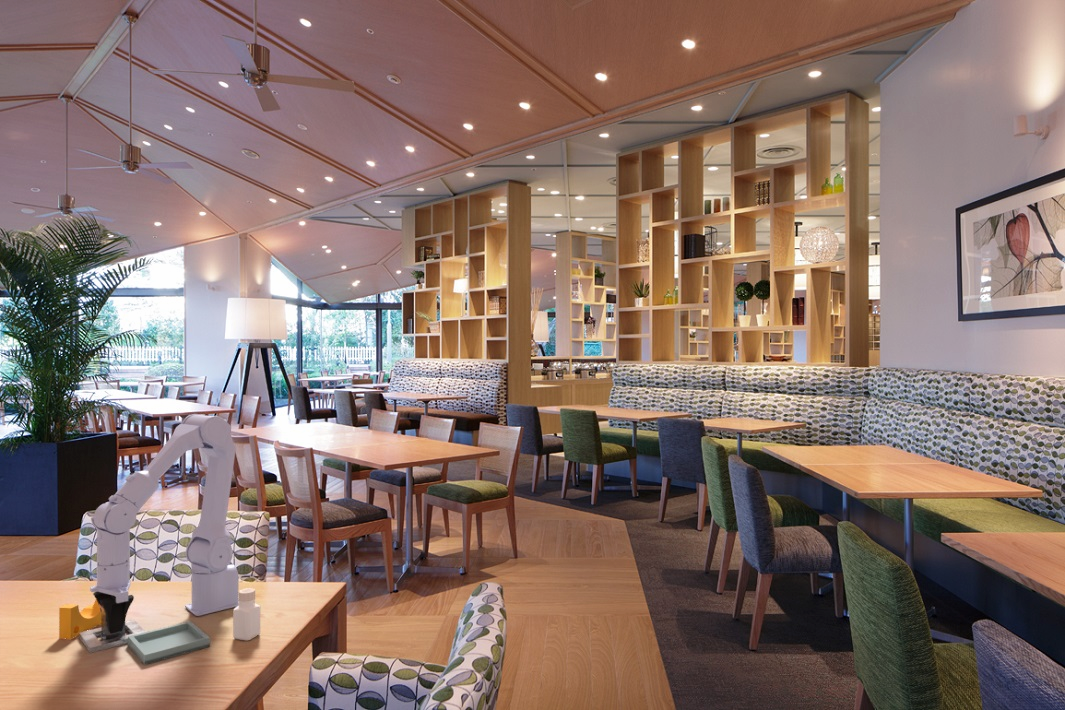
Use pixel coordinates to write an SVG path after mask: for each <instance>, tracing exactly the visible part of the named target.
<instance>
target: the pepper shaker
mask: <svg viewBox="0 0 1065 710" xmlns="http://www.w3.org/2000/svg"><path fill="white" fill-rule="evenodd" d="M238 603H239V606H237V607H234V608H233V610H232V611H233V612H232V619H233V620H232V628H233V630H232V636H233V637H232V638H234V639H235V640H241V641H250V640H252V639H254V638H256V637H257V635H258V636H259V635H260V634H261V606H260V605H259V604H257V603H256V589H255V588H252V587H251V588H250V587H246V588H243V589H240V590H238Z"/></svg>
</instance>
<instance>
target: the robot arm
mask: <svg viewBox="0 0 1065 710" xmlns="http://www.w3.org/2000/svg"><path fill="white" fill-rule="evenodd" d="M231 433H232V426H231V425H230V424H229V422H228V421H226V420H225V419H224V418H223V417H222V416H218V415H205V414H204V415H201V414H199V413H193V414H190V415H187V416H186V417H185V418H184V419H183V420H182V422H181V423H180V424H179V425H177V426H176V427H175V429H174V431H173V433H172V435H171V437H170V438H169V439H168V440H167V442H165V444H164V445H163V447H161V449H160V450H159V451H158V453H157V454H156V455H155V456H154V458H153V459H152V460H151V461H150V463H149V464H148V465H147V466H146V468H144V469H143V470H139V471H135V472H134V473H133V474H128V475H127V476H126V478H125V479H124V480H125V482H124V483H123V485H122V486H121V487H120V488H119V489H118V490H117V491H116V492H115V494H113V495H111V496H109V497H108V500H109V501H107V502H105V503H102V504H100V505H99V506H98V507H96V509H95V511H94V513H93V516H92V517H91V518H90V519H91V520H90V521H91V524H92V525H93V527H94V528H96V533H97V535H96V540H97V541H96V584H95V585H92V586H90V587H89V592H91V593H92V594H93V596H94V598H95V600H97V602H98V604H99V603H101V604H102V606H103V607H104V610H105V612H106V616H107V622H108V628H109V631H110V633H111V634H112V633H116V632H120V631H122V630H123V627H124V623H125V622H126V618H127V615H128V610H129V609H130V606H131V605H132V603H133V601H134V599H135V597H134V595H133V594H129V590H130V588H131V583H132V582H131V580H130V576H131V572H130V571H131V569H130V567H131V565H130V563H131V562H130V561H131V560H130V559H131V558H130V556H131V555H130V554H131V551H130V549H131V542H130V541H131V539H130V538H131V537H130V533H131V528H132V527H134V526H135V524H136V521H137V515H138V512H139V511H140V510H141V509H142V508H143V506H144V505H145V504H146V502H148V501H149V499H150V498H151V497H152V496H153V495H154V494H155V492H157V490H158V489H159V487H160V485H159V484H160V483H159V480H160V478H161V477H162V476H163V475H164V474H165V473H166V472H167V471H169V469H170V468H171V467H172V466H173V465H174V464H175V463H176V462H177V461H178V460H179V459H180V458H181V457H183V455H184V454H185V453H186V452H187V451H193V450H195V449H196V450H197V449H201V450H202V451H203V452H204V453H205V454H206V455H207V456H208V461H207V467H206V468H207V469H206V475H205V483H204V488H203V489H204V490H203V497H202V503H201V512H200V519H199V524H198V526H197V527H196V528H195V529H194V530H193V531H192V533H191V539H190V541H189V543H188V545H187V546H186V549H185V558H186V559H187V561H188V562H189V563H190V565H191V567H190V568H191V602H190V603H189V604H185V605H184V607H185V608H186V609H187V610H188V611H189V612H191V614H192V615H194V616H196V617H200V616H205V615H209V614H212V613H216V612H220V611H223V610H229V609H232V608H233V609H234V608H236V607H237V606H239V601H238V600H239V585H240V584H239V572H238V569H237V567H236V565H235V564H233V563H232V564H230V563H231V562H232V560H233V556H234V553H233V552H234V551H233V547H232V542H231V541H232V535H231V534H230V532H229V530H228V529H227V527H226V523H227V516H228V511H229V510H228V508H229V502H230V495H231V494H230V493H231V487H232V480H233V472H234V465H235V464H234V463H235V457H236V446H235V442H234V439H233V436H232V434H231ZM100 610H101V608H100Z"/></svg>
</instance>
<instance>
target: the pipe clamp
mask: <svg viewBox="0 0 1065 710" xmlns="http://www.w3.org/2000/svg"><path fill="white" fill-rule="evenodd" d="M79 608H80V607H79V604H71V603H68V604H67V603H66V604H65V605H62V606H59V608H58V609H59V613H58V614H59V618H58V620H59V621H58V622H59V623H58V624H59V626H58V627H59V628H58V633H59V634H58V639H59V638H66V639H65V640H73V639H74V638H76V637H78V636H79V632H84V631H87V630H89V629H90V630H92V629H94V628H96V627H98V626H99V624H100V625H101V610H100V607H99V604H98V602H97V600H96V599H95V601H94V603H91V604H90V605H87V606H85V607H83V609H82V610H81V611H80V609H79ZM97 625H98V626H97ZM95 626H96V627H95ZM93 627H94V628H93ZM91 628H92V629H91ZM77 635H78V636H77ZM75 636H76V637H75ZM73 637H74V638H73Z"/></svg>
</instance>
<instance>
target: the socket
mask: <svg viewBox="0 0 1065 710" xmlns="http://www.w3.org/2000/svg"><path fill="white" fill-rule="evenodd" d="M125 631H127V632H128V634H125V636H121V637H117V638H113V639H109V640H105V641H103V640H99V639H98V637H101V627H98V628H96V627H95V628H92V629H90V630H88V631H84V632H79V635H78V638H79V639H80V641H81V642H82V644H83V645H84V646H85V648H86V649H87V651H88V652H89V654H91V653H95V652H99V651H104V650H108V649H110V648H111V649H113V648H114V647H119V646H123V645H126V644H127V645H128V636H132V635H136V634H140V633H144V632H147V631H146V630H145V629H144V628H143V627H142V626H141V625H140V624H139V623H138V622H137V621H136V620H135V619H132V620H127V621H126V620H125Z"/></svg>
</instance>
